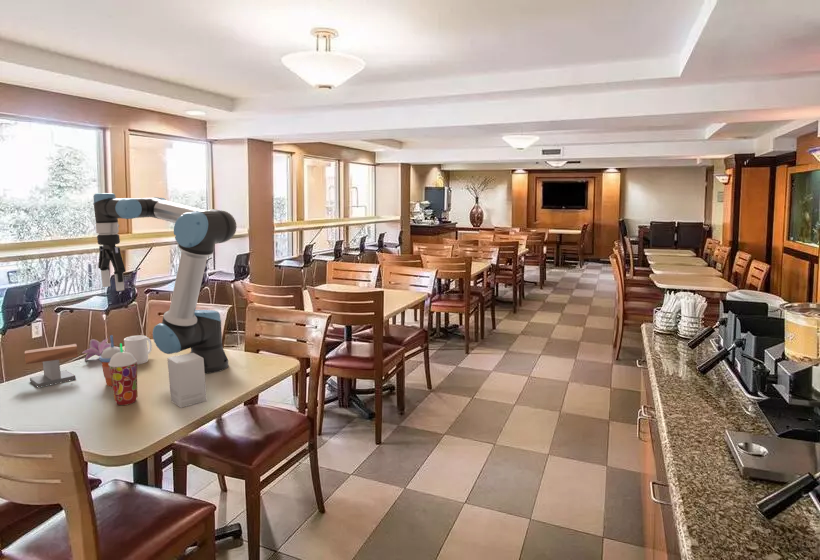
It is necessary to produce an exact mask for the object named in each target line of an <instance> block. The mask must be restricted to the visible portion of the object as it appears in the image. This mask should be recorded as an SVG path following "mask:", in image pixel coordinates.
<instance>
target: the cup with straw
mask: <svg viewBox="0 0 820 560" xmlns="http://www.w3.org/2000/svg"><path fill="white" fill-rule="evenodd" d="M109 339H110V343H111V346H110V347H108V348H106V349H104V350H103V353H102V355H101V356H98V357H99V362H100V363H101V369H102V373H103V377H104V378H105V384H106V386H108V387H112V382H111V376H110V371H109V365H108V364H109V362H110V359H111V358H112V356H113V355H114V354H116V353H118V352H120V346H115V344H114V335H113V334H111V335H109ZM123 351H125V349H123Z"/></svg>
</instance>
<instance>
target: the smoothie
mask: <svg viewBox="0 0 820 560" xmlns="http://www.w3.org/2000/svg"><path fill="white" fill-rule="evenodd" d="M119 347H120V352H118V353H116V354H114V355H113V356H112V358H111V359H110V362H109V364H108V365H109V371H110V376H111V382H112V386H111V387H112V393H113V397H114V401H115V402H116V404H117V405H119V406H126V405H127V404H128V405H131V404H134V403H135V402H137V398H138V364H137V360H136V359H135V358H134V356H133V355H132V354H131V353H129V352H126V351H125V350H124V348H123V343H121V342H120V343H119ZM123 350H124V351H123Z"/></svg>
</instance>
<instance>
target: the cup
mask: <svg viewBox="0 0 820 560" xmlns="http://www.w3.org/2000/svg"><path fill="white" fill-rule="evenodd" d="M123 345H124V351H126V352H129V353H131V354H132V355H133V356H134V358H135V359H136V360H137V365H142V364H146V363H147V362H148V361H149V355H150V353H151V351H152V349H153V345H152V340H151V339H150V337H147V335H130V336H127V337H125V338H123Z"/></svg>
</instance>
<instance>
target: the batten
mask: <svg viewBox="0 0 820 560" xmlns="http://www.w3.org/2000/svg"><path fill="white" fill-rule="evenodd" d="M78 354H79V353H78V345H77V343H72V344H66V345H57V346H52V347H51V346H49V347H42V348H36V349H29V350H25V351H24V359H25V360H24V361H25V364H26V365H30V364H38V363H43V362H45V361H51V360H58V359H59V360H64V359H69V358H70V359H71V358H76V357H77V358H78V356H79V355H78Z"/></svg>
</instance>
